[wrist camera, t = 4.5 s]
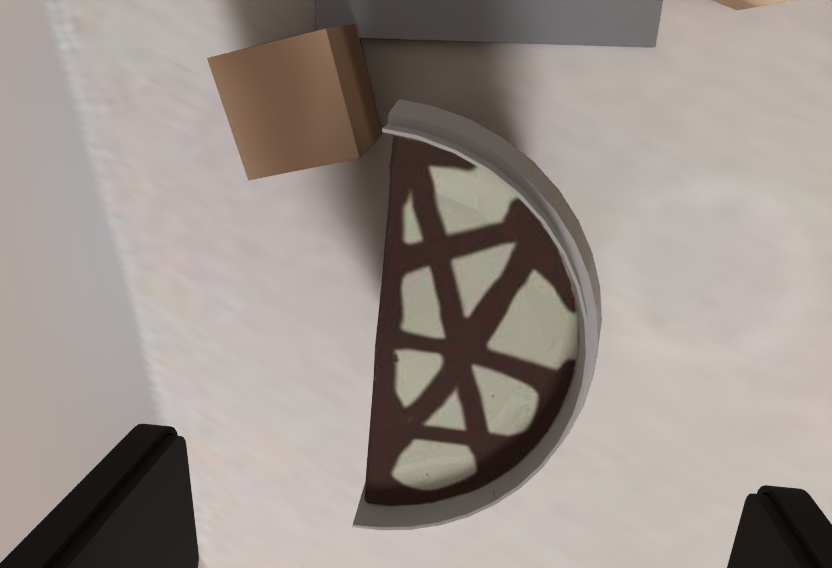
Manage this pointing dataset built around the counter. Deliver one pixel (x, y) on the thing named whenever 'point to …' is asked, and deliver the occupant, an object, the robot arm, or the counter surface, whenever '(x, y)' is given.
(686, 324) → the counter surface
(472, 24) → the mat
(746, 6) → the oak block
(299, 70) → the walnut cube
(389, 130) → the food container
